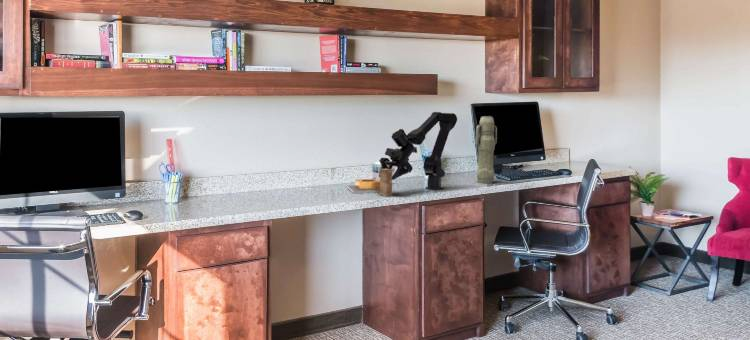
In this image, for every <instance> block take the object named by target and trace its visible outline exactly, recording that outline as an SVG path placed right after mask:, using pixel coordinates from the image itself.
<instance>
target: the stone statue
mask: <svg viewBox="0 0 750 340" xmlns="http://www.w3.org/2000/svg"><path fill="white" fill-rule="evenodd" d="M497 140H498V128H497V125H495V120H494V117H493V116H491V115H484V116H480V120H479V124H478V125H477V126H476V129H475V145H477V151H478V156H477V157H478V160H477V161H478V163H477V165H478V167H477V169H476V178H477V179H476V183H477V184H483V185H484V184H486V185H488V184H491V185H492V184H494V182H495V181H494V179H495V167H494V153H495V152H494V151H495V147H496V144H498V141H497Z"/></svg>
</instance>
